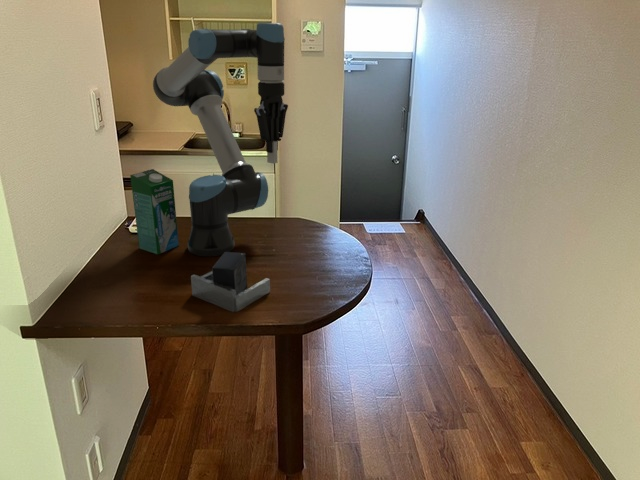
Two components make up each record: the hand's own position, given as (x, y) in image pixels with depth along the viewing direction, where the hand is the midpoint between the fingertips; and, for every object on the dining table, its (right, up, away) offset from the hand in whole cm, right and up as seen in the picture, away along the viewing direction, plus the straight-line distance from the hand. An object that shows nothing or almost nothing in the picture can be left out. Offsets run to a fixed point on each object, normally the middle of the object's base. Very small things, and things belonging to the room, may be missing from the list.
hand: (272, 162), depth 159 cm
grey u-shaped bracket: (-10, -38, -13) cm, 41 cm away
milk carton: (-39, -26, +15) cm, 49 cm away
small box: (-10, -39, -13) cm, 42 cm away
